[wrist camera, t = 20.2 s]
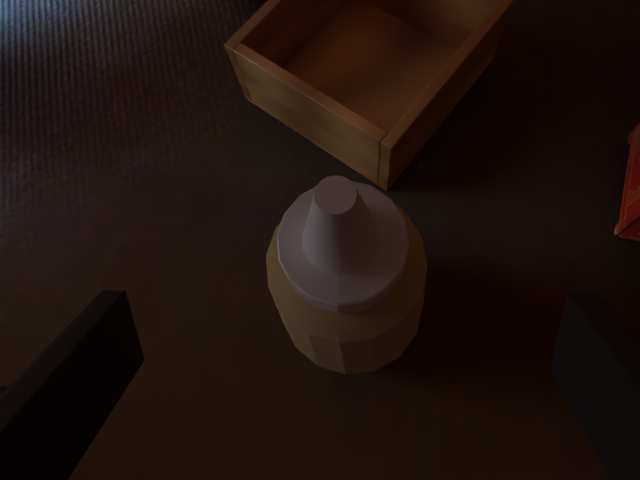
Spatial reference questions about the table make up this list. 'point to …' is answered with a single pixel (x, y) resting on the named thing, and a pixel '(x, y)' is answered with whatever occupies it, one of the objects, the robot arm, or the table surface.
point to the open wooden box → (366, 71)
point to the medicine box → (631, 192)
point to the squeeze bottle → (347, 276)
